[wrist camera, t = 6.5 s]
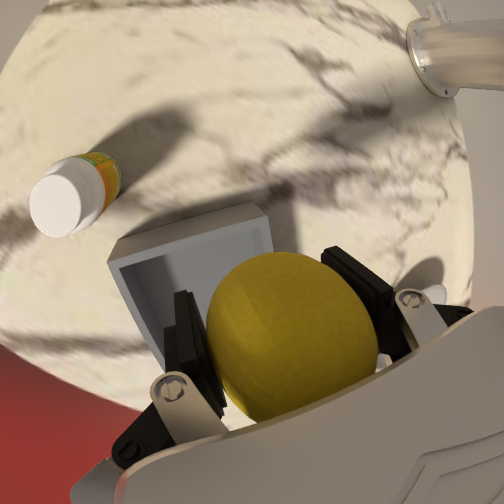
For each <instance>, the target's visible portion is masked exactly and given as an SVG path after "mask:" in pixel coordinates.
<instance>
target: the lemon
mask: <svg viewBox="0 0 504 504" xmlns="http://www.w3.org/2000/svg"><path fill="white" fill-rule="evenodd" d="M206 345H207V350H208V354H209V358H210V361H211V363H212V366H213V368H214V371H215V373H216V376H217V378H218V380H219V382H220V384H221V386H222V388H223V389H224V391H225V392H226V394H227V395H228V397H229V398H230V399H231V400H232V402H233V403H234V404H235V405H236V406H237V407H238V408H239V409H240V410H241V411H242V412H243V413H244V414H246V415H247V416H248V417H249V418H250V419H252V420H254V421H255V422H257V423H259V422H263V421H266V420H269V419H272V418H275V417H277V416H280V415H283V414H286V413H288V412H291V411H294V410H296V409H299V408H301V407H304V406H306V405H309V404H311V403H314V402H316V401H318V400H321V399H323V398H325V397H328V396H330V395H332V394H334V393H336V392H339V391H341V390H343V389H345V388H347V387H349V386H351V385H353V384H355V383H357V382H359V381H361V380H363V379H365V378H367V377H369V376H371V375H373V374H375V372H376V367H377V359H378V341H377V337H376V333H375V330H374V327H373V324H372V321H371V318H370V316H369V314H368V312H367V310H366V308H365V306H364V304H363V303H362V301H361V300H360V298H359V297H358V295H357V294H356V293H355V291H354V290H353V289H352V288H351V287H350V286H349V285H348V284H347V282H346V281H345V280H344V279H343V278H342V277H341V276H340V275H339V274H338V273H337V272H335V271H334V270H333V269H331V268H330V267H328V266H327V265H325V264H323V263H321V262H319V261H317V260H315V259H313V258H311V257H309V256H306V255H302V254H297V253H291V252H283V251H281V252H269V253H264V254H261V255H258V256H255V257H252V258H249V259H247V260H246V261H244V262H242V263H241V264H239V265H237V266H236V267H235V268H234V269H232V270H231V271H230V272H229V273H228V274H227V275H226V276H225V277H224V278H223V279H222V281H221V282H220V284H219V285H218V287H217V288H216V290H215V292H214V294H213V296H212V299H211V302H210V305H209V308H208V312H207V316H206Z"/></svg>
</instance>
